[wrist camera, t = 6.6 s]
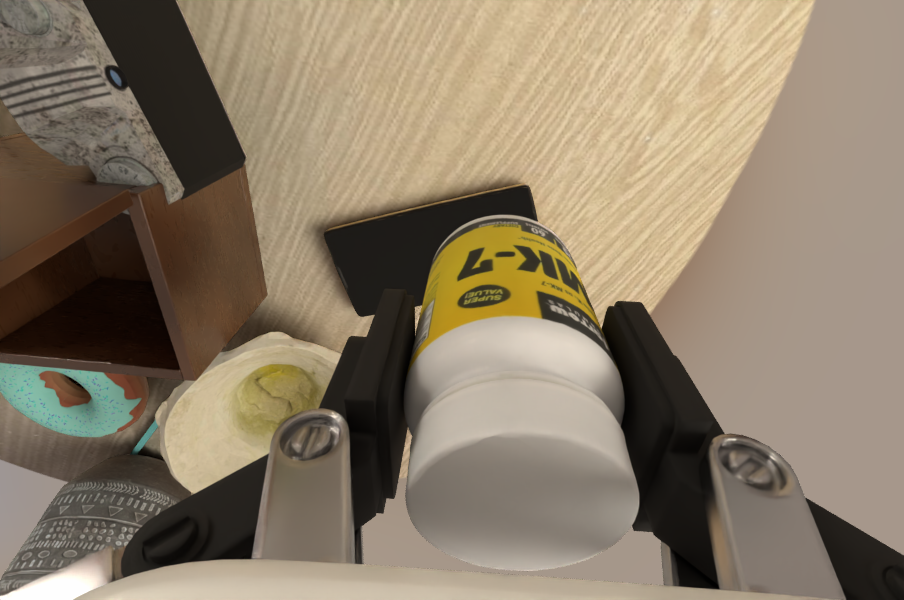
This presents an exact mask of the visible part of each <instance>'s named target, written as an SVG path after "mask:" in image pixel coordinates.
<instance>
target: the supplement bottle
mask: <svg viewBox="0 0 904 600" xmlns="http://www.w3.org/2000/svg"><path fill="white" fill-rule="evenodd" d="M624 410H625V397H624V389H623V384H622V380H621V376H620V373H619V370H618V368H617V365H616V363H615V360H614V358H613V356H612V353H611V351H610V349H609V346H608V344H607V342H606V339H605V337H604V334H603V332H602V330H601V327H600V325H599V322H598V320H597V317H596V315H595V312H594V309H593V307H592V305H591V303H590V301H589V298H588V295H587V293H586V290H585V288H584V286H583V283H582V281H581V278H580V276H579V273H578V271H577V268H576V265H575V263H574V261H573V259H572V257H571V255H570V253H569V251H568V249H567V248H566V246H565V244H564V243H563V242H562V240H561V239H560V238H559V237H558V236H557V235H556V234H555V233H554V232H553V231H551V230H550V229H549V228H547V227H546V226H544V225H543V224H541V223H539V222H537V221H534V220H531V219H529V218H525V217H521V216H515V215H493V216H487V217H482V218H478V219H475V220H473V221H470V222H468V223H466V224H464V225H463V226H461V227H459V228H458V229H457V230H455V231H454V232H453V233H452V234H451V235H450V236H449V237H448V238H447V239H446V240H445V241H444V242H443V243H442V245H441V246H440V248H439V249H438V251H437V253H436V255H435V257H434V259H433V262H432V265H431V268H430V272H429V277H428V282H427V287H426V291H425V295H424V300H423V304H422V308H421V313H420V317H419V322H418V326H417V331H416V336H415V340H414V345H413V349H412V354H411V358H410V363H409V367H408V372H407V376H406V381H405V388H404V413H405V419H406V422H407V425H408V428H409V430H410V433H411V435H412V436H413V437H412V440H411V445H410V459H409V467H408V476H407V485H406V495H405V496H406V505H407V510H408V513H409V516H410V519H411V521H412V523H413V525H414V526H415V528H416V529H417V530H418V532H419V533H420V534H421V535H422V536H423V537H424V538H425V539H426V540H427V541H428V542H429V543H431V544H432V545H433V546H435V547H436V548H437V549H439V550H441V551H442V552H444V553H446V554H448V555H450V556H452V557H455V558H457V559H459V560H462V561H465V562H467V563H471V564H474V565H478V566H481V567H487V568H494V569H501V570H513V571H535V570H544V569H552V568H559V567H563V566H567V565H571V564H574V563H578V562H581V561H584V560H587V559H589V558H592V557H594V556H596V555H598V554H600V553H601V552H603V551H605V550H607V549H608V548H609V547H611V546H613V545H614V544H615V543H617V542H618V541H619V540H620V539H621V538H622V537H623V536H624V535H625V534H626V533H627V532H628V530H629V529H630V527H631V526H632V525H633V523H634V521H635V518H636V516H637V513H638V508H639V490H638V486H637V482H636V478H635V475H634V472H633V469H632V465H631V462H630V458H629V454H628V450H627V447H626V441H625V437H624V433H623V431H622V429H621V427H620V426H621V424H622V420H623V416H624Z"/></svg>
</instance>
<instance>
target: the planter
mask: <svg viewBox="0 0 904 600" xmlns="http://www.w3.org/2000/svg"><path fill="white" fill-rule="evenodd" d="M189 496H191V492H190V491H189V490H188V489H186V488H185V487H183V486H182V485H181V483H179V482H178V481H177V480H176V479H175V478H174V477H173V476H172V474H171V472H170V470H169V467H168V465H167V463H166V462H165V461H162V460H159V459H156V458H152V457H147V456H141V455H117V456H113V457H110V458H108V459H107V460H105V461H103V462H101V463H99V464H98V465H96V466H94V467H92V468H91V469H89V470H87V471H86V472H84V473H82V474H81V475H79V476H78V477H76V478H75V479H73V480H72V481H70V482H69V483H67V484H66V485H64V486H63V487H62V489H61V490H60V491H59V493H58V494H57V495H56V497H55V498H54V499H53V501H52V502H51V504H50V505H49V507H48V508H47V510H46V512H45V513H44V515H43V516H42V518H41V519H40V521H39V522H38V524H37V526H36V527H35V528H34V530H33V531H32V533H31V534H30V536H29V537H28V539H27V540H26V541H25V543H24V544H23V546H22V547H21V549H20V550H19V552H18V553H17V555H16V556H15V558H14V559H13V561H12V562H11V564H10V565H9V567H8V568H7V570H6V571H5V573H4V574H3V576H2V579H1V580H0V596H2V595H5V594H7V593H9V592H11V591H13V590H15V589H18V588H20V587H22V586H24V585H26V584H28V583H30V582H33V581H35V580H37V579H39V578H41V577H43V576H46V575H48V574H50V573H52V572H54V571H56V570H59V569H61V568H63V567H65V566H67V565H69V564H72V563H74V562H76V561H78V560H80V559H82V558H84V557H87V556H89V555H91V554H93V553H95V552H97V551H100V550H102V549H104V548H106V547H108V546H110V545H111V546H112V547H113V548H114V550H117V549H119V548H121V547H124V546H126V545H127V544H128V543H129V541H130V540H131V538H132V537H133V535H134V534H135V533H136V532H137V531H138V530H139V529H140V528H141V527H142V526H143V525H144V524H145V523H146V522H147V521H148V520H150V519H151V518H153V517H154V516H156V515H157V514H159V513H160V512H162V511H164V510H165V509H167V508H169V507H171V506H173V505H175V504H177V503H178V502H180V501H182V500H184V499H186V498H188V497H189Z"/></svg>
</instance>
